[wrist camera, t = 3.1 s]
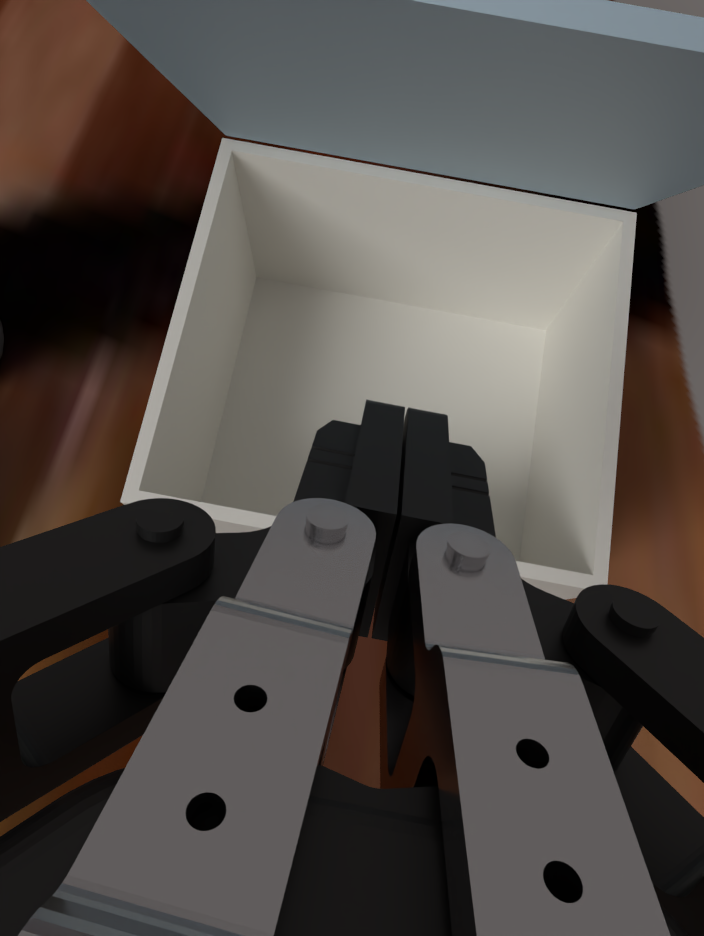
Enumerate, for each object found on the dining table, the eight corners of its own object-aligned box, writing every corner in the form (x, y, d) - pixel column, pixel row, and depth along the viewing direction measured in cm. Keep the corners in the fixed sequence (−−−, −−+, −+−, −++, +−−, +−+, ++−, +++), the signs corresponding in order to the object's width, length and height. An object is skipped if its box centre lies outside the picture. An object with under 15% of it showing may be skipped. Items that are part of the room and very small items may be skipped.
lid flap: (953, 97, 13) (967, 64, 13) (13, -71, 13) (14, -106, 13) (634, 209, 31) (638, 195, 30) (225, 135, 31) (227, 121, 31)
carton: (520, 606, 38) (606, 592, 26) (183, 543, 38) (120, 501, 26) (552, 329, 42) (636, 212, 31) (250, 274, 43) (222, 137, 31)
